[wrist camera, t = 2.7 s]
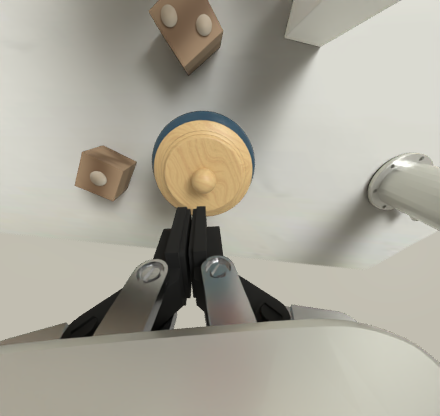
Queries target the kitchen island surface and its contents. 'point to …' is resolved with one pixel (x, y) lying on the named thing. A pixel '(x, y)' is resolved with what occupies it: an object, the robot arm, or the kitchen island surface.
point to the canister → (203, 162)
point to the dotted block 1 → (104, 172)
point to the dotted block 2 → (188, 30)
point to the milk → (329, 18)
